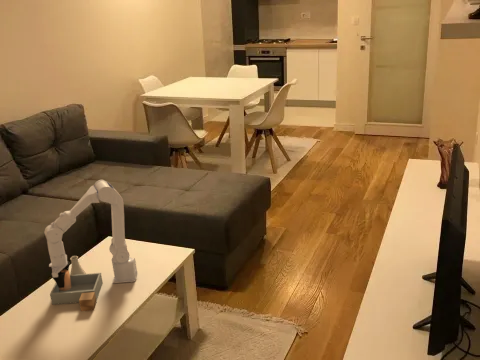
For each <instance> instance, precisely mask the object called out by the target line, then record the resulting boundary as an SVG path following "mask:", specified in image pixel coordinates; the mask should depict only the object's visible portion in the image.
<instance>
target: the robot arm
mask: <svg viewBox="0 0 480 360" xmlns="http://www.w3.org/2000/svg"><path fill="white" fill-rule="evenodd" d="M100 201H101V202H104V203H107V204H109V205H110V209H111V211H110V212H111V231H112V233H111V235H112V236H111V237H112V238H111V243H110V246H109V253H111V255H112V258H111V264H112V269H113V270H112V271H113V280H112V284H120V283H121V284H123V283H132V282H136V280H137V279H136V278H137V275H138V268H137V262H136V258H135V257H130V252H129V251H128V246H127V243H126V236H125V235H126V233H125V208H124V207H125V206H124V205H125V204H124V198H123V197H122V196H121V194H120V193H119V192H118V190H116V189H115V188H114V185H112V184H111V183H110V182H109V181H106V180H104V179H99V180H97V181H95V183H94V184H93V185H91V186H90V187H89V188H88V189H87V191H86V192H85V193H84V194H83V195H82V197H81V198H80V199H79V200H78V201H77V202H76V203H75V204H74V206H73V207H72V208H71V209H70V210H65V211H63V212H60V213H59V217H57V218H56V219H55V220H54V221H53V222H50V224H49V225H47V226H46V227H45V229H44V231H43V233H44V236H45V238H46V244H47V249H48V254H49V258H50V263H49V264H48V267H49V268H51V273H50V278H52V279H53V280H54V282H55V283H57V285H58V287H59V288H64V286H65V281H64V277H65V273H66V272H61V270H64V269H66V270H69V271H70V269H69V268H70V265H71V261H69V260H68V255H67V254H66V251H65V247H64V242H63V241H62V239H63V234H65V232H67V231H68V230H69V229H70V228H71V227H72V226H73V225H74V224H75V223H76V222H77V216H79V215H80V214H81V213H82V212H83V211H84V210H85V209H87V208H88V207H89V206H90V205H91V204H95V203H96V204H98V203H99V204H100Z"/></svg>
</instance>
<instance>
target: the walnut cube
mask: <svg viewBox="0 0 480 360" xmlns="http://www.w3.org/2000/svg"><path fill="white" fill-rule="evenodd" d="M78 304H79V308H80V311H81V312H86V311H87V312H89V311H95V308H96V306H97V301H96V296H95V292H89V293H82V294H81V297H80V299H79V303H78Z"/></svg>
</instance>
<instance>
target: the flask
mask: <svg viewBox="0 0 480 360" xmlns="http://www.w3.org/2000/svg"><path fill="white" fill-rule="evenodd" d="M69 260H70V263H71V269H70V272H69V274H70V275H79V274H87V273H86V272H85V270H84V269H83V267H82V265H81V264H80V262H79V256H77V255H72V256H71V257H70V258H69Z"/></svg>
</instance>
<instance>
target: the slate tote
mask: <svg viewBox="0 0 480 360" xmlns="http://www.w3.org/2000/svg"><path fill="white" fill-rule="evenodd" d="M70 279H71V285H72V287H71V289H69V290H67V291H60V290H59V287H58V285H57V283H56V282H55V283H54V285H53V287H52V289H51V291H50V293H49V295H50V296H49V297H50V302H51V305H52V306H54V305H55V306H56V305H69V304H80V303H79V299H80V297H81V294H82V293H89V292H95V296H96V301H97V300H98V299H99V295H100V292H101V289H102V286H103V284H104V283H103V278H102V272H96V273H95V272H94V273H86V274H79V275H70Z"/></svg>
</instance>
